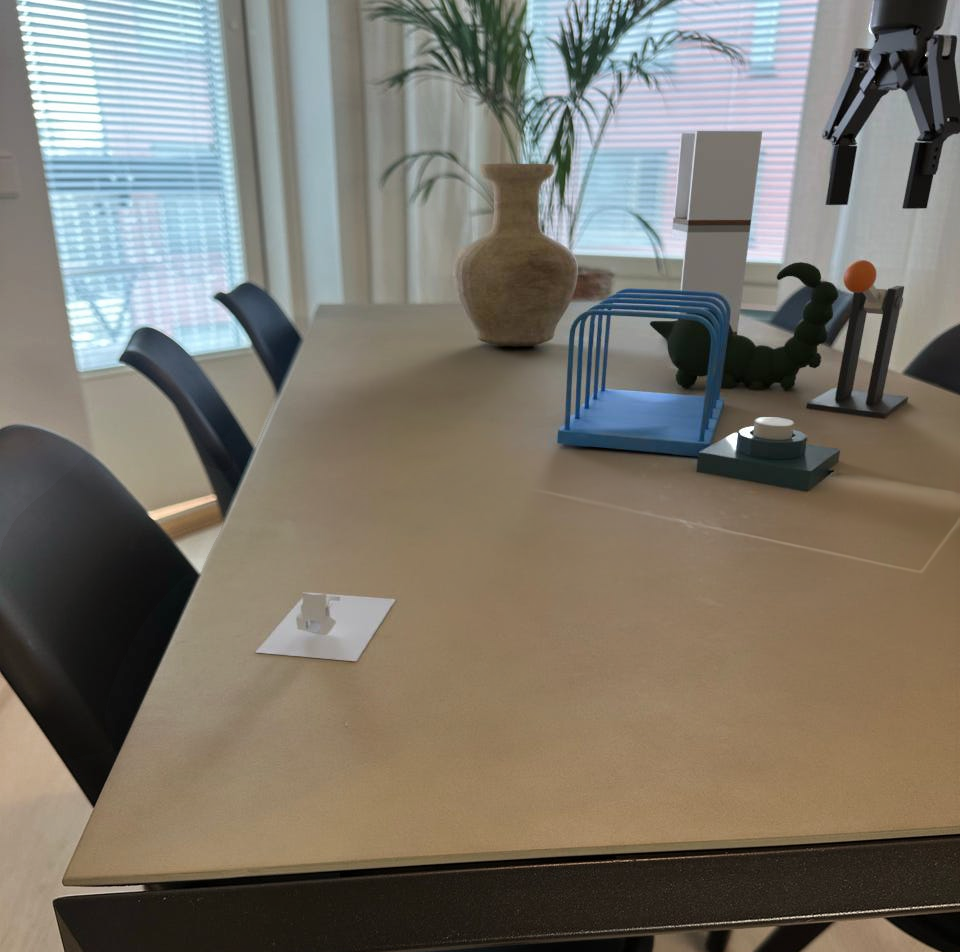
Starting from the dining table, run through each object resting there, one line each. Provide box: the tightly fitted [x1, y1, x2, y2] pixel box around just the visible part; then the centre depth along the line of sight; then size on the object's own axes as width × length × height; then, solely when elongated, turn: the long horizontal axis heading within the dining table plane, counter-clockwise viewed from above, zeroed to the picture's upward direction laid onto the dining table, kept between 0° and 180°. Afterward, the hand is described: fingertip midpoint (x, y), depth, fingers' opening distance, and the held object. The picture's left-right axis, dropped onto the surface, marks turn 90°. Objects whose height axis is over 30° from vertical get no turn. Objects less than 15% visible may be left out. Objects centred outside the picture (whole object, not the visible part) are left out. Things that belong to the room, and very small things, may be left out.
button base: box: [696, 425, 841, 493], centre depth 97 cm, size 12×10×4 cm
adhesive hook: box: [295, 592, 341, 636], centre depth 63 cm, size 3×3×3 cm
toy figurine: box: [649, 261, 839, 392], centre depth 131 cm, size 9×19×25 cm
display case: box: [671, 130, 763, 335], centre depth 169 cm, size 11×11×35 cm
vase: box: [452, 163, 579, 347], centre depth 163 cm, size 22×22×30 cm
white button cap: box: [753, 416, 795, 440], centre depth 96 cm, size 4×4×2 cm
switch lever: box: [843, 259, 888, 315], centre depth 112 cm, size 14×4×4 cm, turn 144°
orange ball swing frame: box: [805, 285, 909, 420], centre depth 119 cm, size 12×10×16 cm
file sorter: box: [556, 287, 731, 458], centre depth 111 cm, size 25×17×15 cm
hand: (873, 207), depth 108 cm, fingers open, 13 cm apart
